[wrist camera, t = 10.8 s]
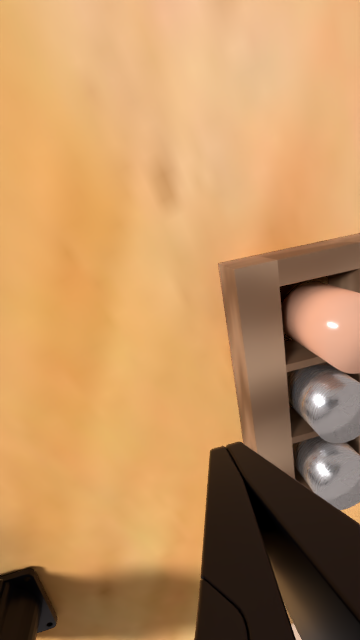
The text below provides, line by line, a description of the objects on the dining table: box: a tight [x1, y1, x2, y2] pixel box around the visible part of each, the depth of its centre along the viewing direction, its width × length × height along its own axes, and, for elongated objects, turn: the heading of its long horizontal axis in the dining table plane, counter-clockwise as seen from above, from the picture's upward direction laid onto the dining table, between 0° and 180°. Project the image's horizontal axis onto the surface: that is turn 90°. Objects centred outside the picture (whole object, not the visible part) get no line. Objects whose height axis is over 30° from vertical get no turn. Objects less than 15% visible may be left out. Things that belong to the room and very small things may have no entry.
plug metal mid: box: [286, 362, 360, 443], centre depth 20 cm, size 4×4×5 cm
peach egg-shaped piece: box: [281, 281, 360, 374], centre depth 17 cm, size 4×4×5 cm
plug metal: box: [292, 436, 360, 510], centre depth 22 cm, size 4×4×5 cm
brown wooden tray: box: [218, 233, 360, 491], centre depth 22 cm, size 19×10×3 cm, turn 11°
